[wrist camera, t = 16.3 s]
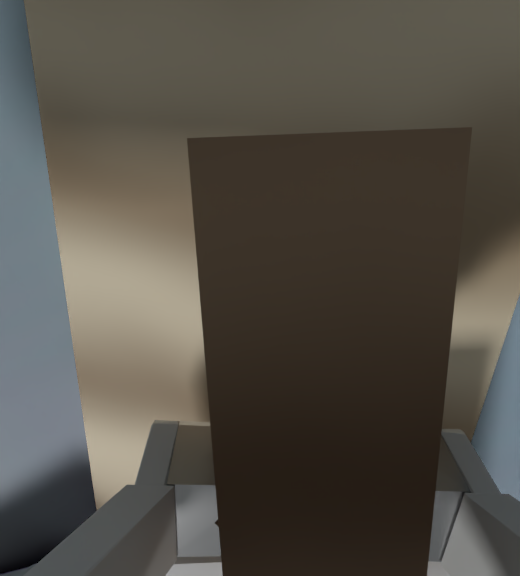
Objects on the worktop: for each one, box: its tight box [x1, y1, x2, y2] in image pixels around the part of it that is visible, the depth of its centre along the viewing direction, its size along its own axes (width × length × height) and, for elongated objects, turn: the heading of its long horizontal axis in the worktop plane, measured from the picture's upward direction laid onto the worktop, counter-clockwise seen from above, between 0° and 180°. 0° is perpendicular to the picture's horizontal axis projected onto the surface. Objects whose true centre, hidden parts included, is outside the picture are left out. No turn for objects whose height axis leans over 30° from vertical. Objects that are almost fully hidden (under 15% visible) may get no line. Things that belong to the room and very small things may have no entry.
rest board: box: [24, 0, 520, 510], centre depth 14 cm, size 22×12×1 cm, turn 177°
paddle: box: [166, 127, 472, 576], centre depth 9 cm, size 17×8×4 cm, turn 2°
